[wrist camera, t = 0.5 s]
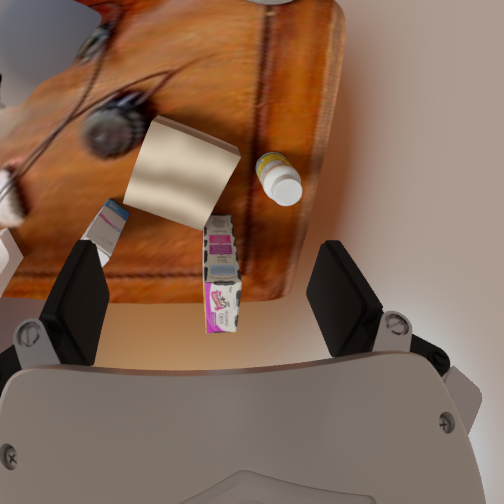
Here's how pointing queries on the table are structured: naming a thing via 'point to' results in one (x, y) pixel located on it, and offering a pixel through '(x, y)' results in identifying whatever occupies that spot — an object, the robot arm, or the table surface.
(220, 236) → the candy bar box
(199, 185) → the base block
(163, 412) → the robot arm
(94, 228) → the ink box
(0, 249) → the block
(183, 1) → the table surface
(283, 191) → the supplement bottle
